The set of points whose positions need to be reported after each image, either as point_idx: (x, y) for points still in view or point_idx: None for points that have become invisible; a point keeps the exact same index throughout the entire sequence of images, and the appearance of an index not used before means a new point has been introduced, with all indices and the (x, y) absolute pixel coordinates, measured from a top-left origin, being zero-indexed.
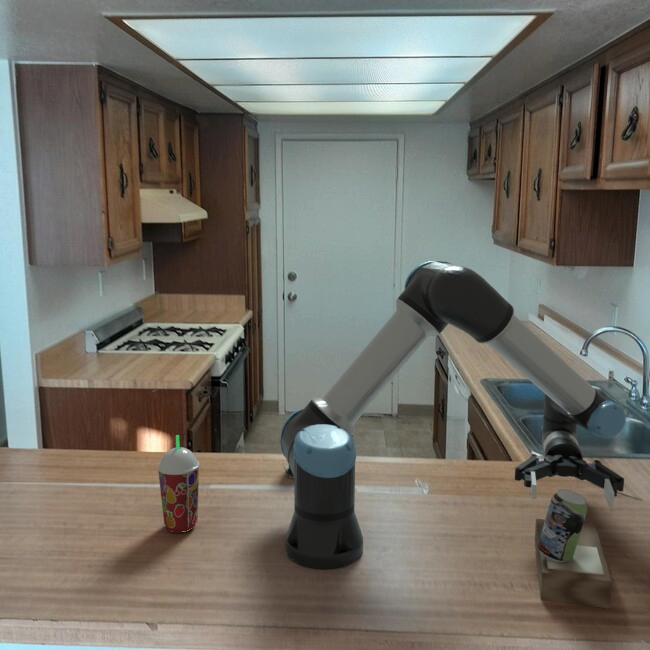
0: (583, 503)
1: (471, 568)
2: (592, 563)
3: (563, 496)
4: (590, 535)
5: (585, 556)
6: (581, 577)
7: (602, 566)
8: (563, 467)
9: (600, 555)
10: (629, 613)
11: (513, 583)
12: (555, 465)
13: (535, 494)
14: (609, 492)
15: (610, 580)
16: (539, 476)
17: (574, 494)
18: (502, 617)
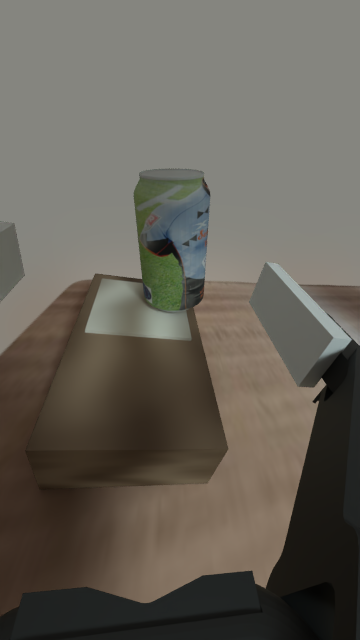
0: (147, 170)
1: (279, 359)
2: (112, 294)
3: (188, 172)
4: (75, 381)
5: (118, 307)
6: (136, 279)
7: (95, 294)
8: (185, 588)
9: (85, 316)
10: (71, 304)
11: (216, 338)
12: (292, 612)
13: (255, 291)
14: (10, 229)
15: (96, 274)
16: (317, 437)
17: (163, 176)
18: (214, 296)
